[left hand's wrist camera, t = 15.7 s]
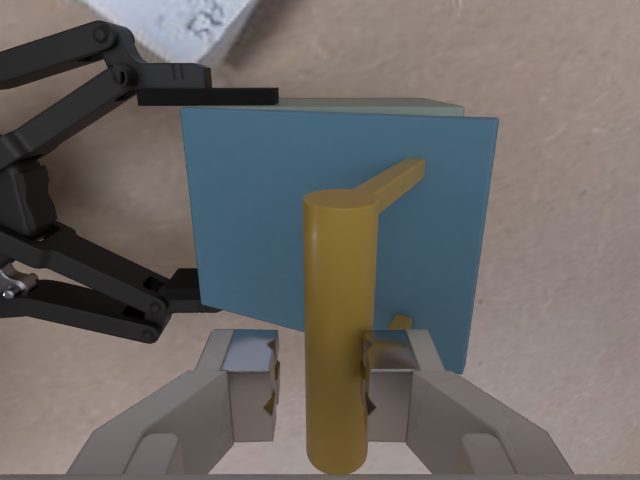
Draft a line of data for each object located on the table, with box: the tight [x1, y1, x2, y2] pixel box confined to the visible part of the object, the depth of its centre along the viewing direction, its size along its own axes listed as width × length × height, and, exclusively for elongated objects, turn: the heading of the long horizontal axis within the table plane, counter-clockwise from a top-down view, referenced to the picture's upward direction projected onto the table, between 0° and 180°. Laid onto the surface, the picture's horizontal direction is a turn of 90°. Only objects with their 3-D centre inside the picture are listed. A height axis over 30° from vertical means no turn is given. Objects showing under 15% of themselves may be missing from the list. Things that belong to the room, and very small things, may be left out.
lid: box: [180, 107, 499, 474], centre depth 15 cm, size 13×10×8 cm
